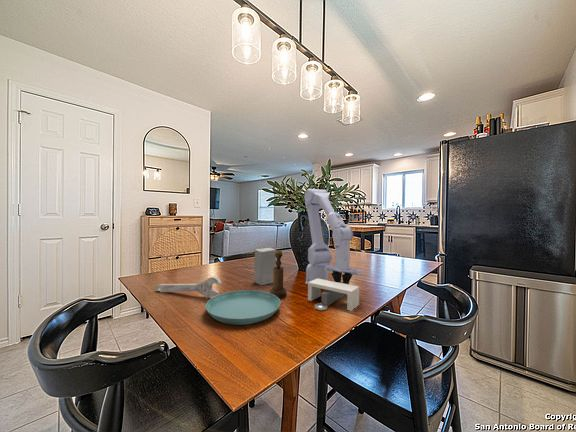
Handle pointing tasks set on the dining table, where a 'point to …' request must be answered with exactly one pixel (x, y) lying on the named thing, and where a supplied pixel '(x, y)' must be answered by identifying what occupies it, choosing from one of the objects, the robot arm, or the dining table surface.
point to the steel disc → (321, 306)
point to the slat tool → (330, 296)
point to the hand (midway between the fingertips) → (341, 290)
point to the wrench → (193, 287)
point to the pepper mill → (278, 278)
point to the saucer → (242, 307)
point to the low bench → (350, 290)
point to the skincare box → (264, 265)
